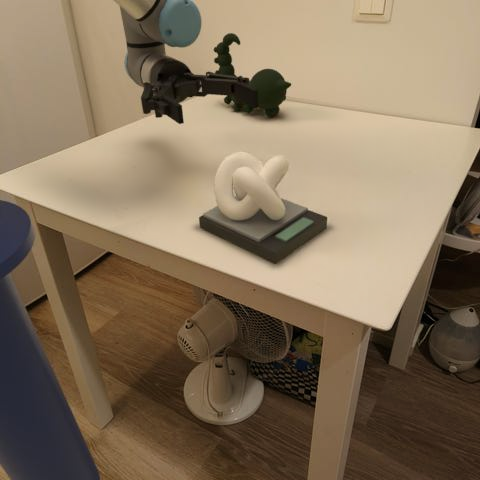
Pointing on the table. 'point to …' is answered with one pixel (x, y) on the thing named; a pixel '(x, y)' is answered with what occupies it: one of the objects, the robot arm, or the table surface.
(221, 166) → the white knot sculpture
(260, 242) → the scale
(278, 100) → the toy figurine
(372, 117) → the table surface
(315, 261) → the table surface
